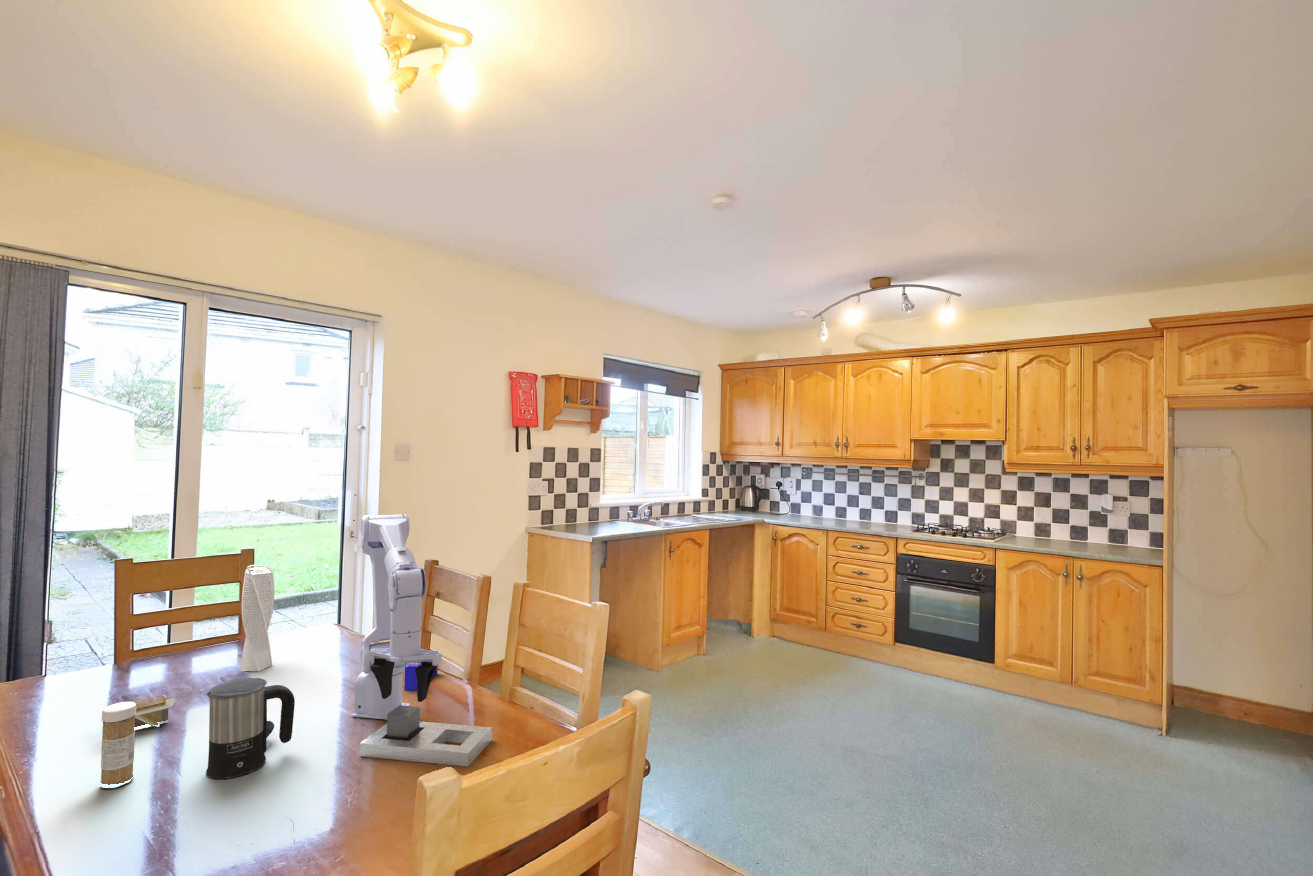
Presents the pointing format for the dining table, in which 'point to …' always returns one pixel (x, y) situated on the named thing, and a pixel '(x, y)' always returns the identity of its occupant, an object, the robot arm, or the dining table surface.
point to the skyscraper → (257, 617)
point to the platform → (152, 711)
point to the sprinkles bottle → (118, 743)
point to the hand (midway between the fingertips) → (404, 698)
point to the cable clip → (413, 677)
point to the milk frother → (244, 725)
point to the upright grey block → (403, 723)
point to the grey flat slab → (430, 744)
